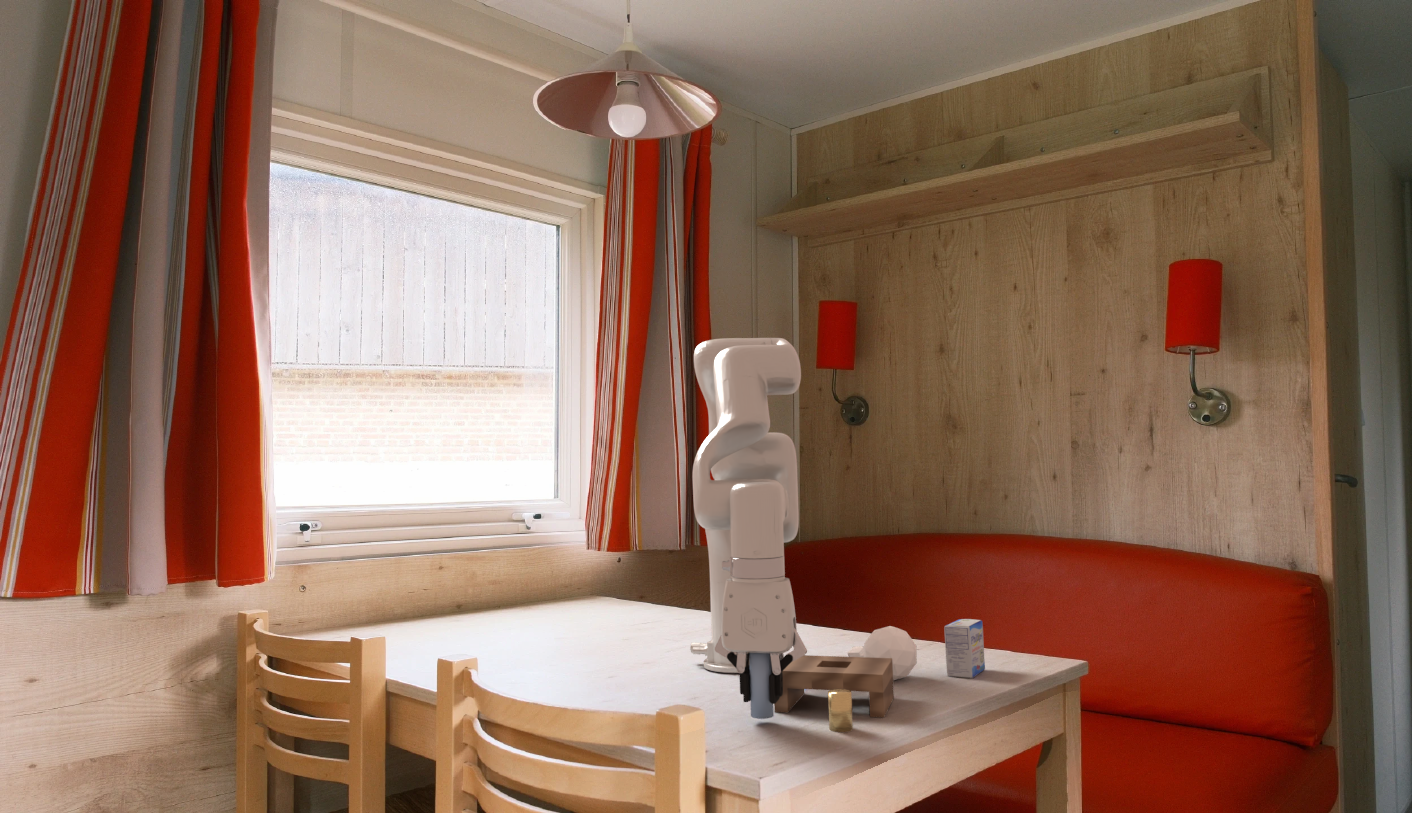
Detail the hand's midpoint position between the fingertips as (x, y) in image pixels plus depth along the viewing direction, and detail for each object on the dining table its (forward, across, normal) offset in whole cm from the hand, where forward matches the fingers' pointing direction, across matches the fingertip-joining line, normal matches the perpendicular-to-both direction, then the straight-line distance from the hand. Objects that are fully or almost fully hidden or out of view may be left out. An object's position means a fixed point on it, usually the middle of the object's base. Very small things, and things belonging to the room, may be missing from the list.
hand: (761, 699), depth 132 cm
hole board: (+4, +8, +12) cm, 15 cm away
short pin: (+3, +11, 0) cm, 12 cm away
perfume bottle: (+4, +13, +32) cm, 35 cm away
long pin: (+2, 0, 0) cm, 2 cm away
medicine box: (+4, +26, +38) cm, 47 cm away
